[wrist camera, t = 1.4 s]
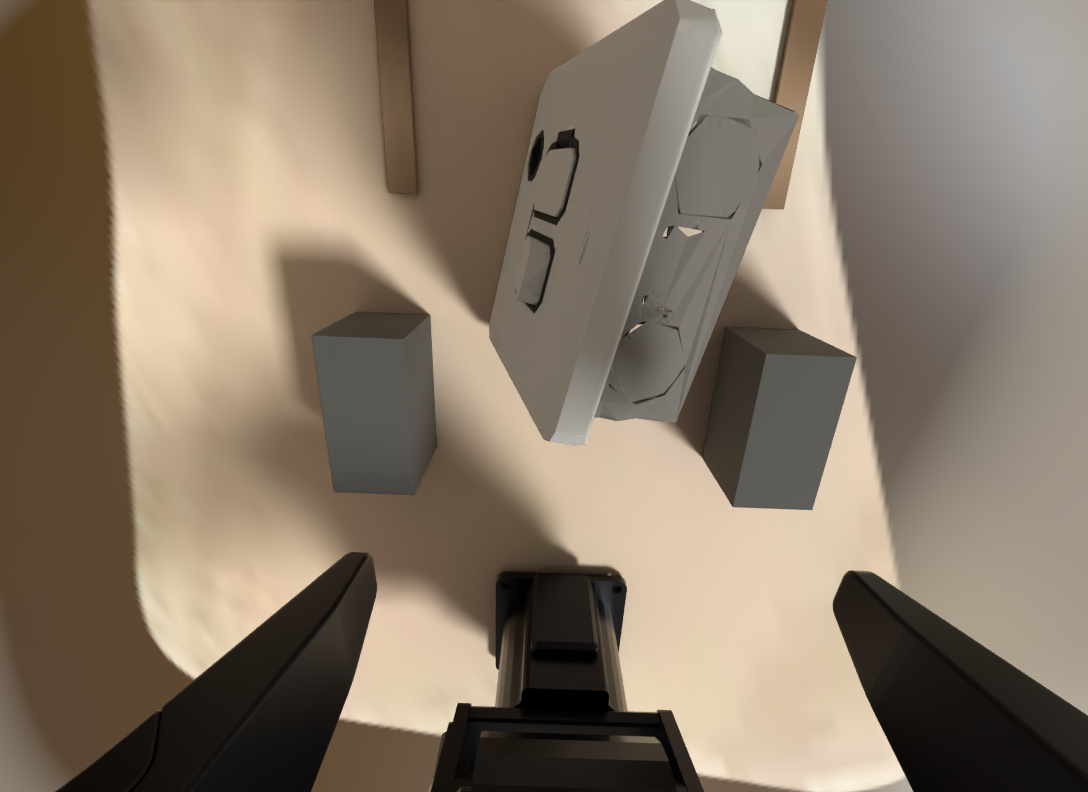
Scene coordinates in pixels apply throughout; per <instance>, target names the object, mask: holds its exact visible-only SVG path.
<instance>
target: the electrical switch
mask: <svg viewBox="0 0 1088 792" xmlns="http://www.w3.org/2000/svg"><path fill="white" fill-rule="evenodd" d="M721 35H722V30H721V27H720V24H719V21H718V18H717V14H716V11H715V9H710V8H707V7H705V6H702V5H700V4H697V3H695V2H692V1H690V0H664V1H662V2H660V3H659V4H657V5H656V6H654V7H653V8H651V9H649V10H648V11H646V12H645V13H643V14H641V15H640V16H638V17H637V18H635V19H633V20H632V21H630V22H629V23H627V24H626V25H624V26H622V27H621V28H619V29H618V30H616V31H614V32H613V33H611V34H610V35H608V36H606V37H605V38H603V39H602V40H600V41H599V42H597V43H595V44H594V45H592V46H591V47H589V48H587V49H586V50H584V51H583V52H581V53H579V54H578V55H576V56H575V57H573V58H571V59H570V60H568V61H567V62H565V63H564V64H562V65H560V66H559V67H557V68H556V69H554V70H552V71H551V72H550V73H549V75H548V77H547V79H546V82H545V84H544V86H543V88H542V91H541V95H540V99H539V103H538V108H537V112H536V117H535V121H534V126H533V130H532V135H531V139H530V144H529V148H528V152H527V157H526V161H525V166H524V170H523V175H522V179H521V184H520V188H519V193H518V197H517V202H516V206H515V211H514V215H513V220H512V224H511V229H510V233H509V238H508V242H507V247H506V251H505V256H504V260H503V265H502V269H501V274H500V278H499V283H498V287H497V292H496V296H495V301H494V305H493V310H492V314H491V320H490V325H489V338H490V340H491V342H492V344H493V346H494V348H495V350H496V351H497V353H498V355H499V357H500V359H501V361H502V363H503V365H504V366H505V368H506V370H507V372H508V374H509V376H510V378H511V380H512V381H513V383H514V385H515V387H516V389H517V391H518V393H519V395H520V396H521V398H522V400H523V402H524V404H525V406H526V408H527V410H528V411H529V413H530V415H531V417H532V419H533V421H534V423H535V424H536V426H537V428H538V430H539V432H540V434H541V436H542V438H543V439H544V440H547V441H549V442H555V443H562V444H568V445H585V443H586V440H587V437H588V434H589V431H590V428H591V425H592V422H593V419H594V417H601V418H605V419H610V420H615V421H621V420H627V419H634V418H639V419H647V420H655V421H663V422H671V423H676V421H677V419H678V416H679V414H680V411H681V409H682V406H683V404H684V401H685V399H686V397H687V394H688V392H689V389H690V387H691V384H692V382H693V379H694V377H695V374H696V372H697V369H698V367H699V364H700V362H701V359H702V357H703V354H704V352H705V349H706V347H707V344H708V342H709V339H710V337H711V334H712V332H713V329H714V327H715V324H716V322H717V319H718V317H719V314H720V312H721V309H722V307H723V304H724V302H725V299H726V297H727V294H728V292H729V289H730V287H731V284H732V282H733V279H734V277H735V274H736V272H737V269H738V267H739V264H740V262H741V259H742V257H743V254H744V252H745V249H746V247H747V244H748V242H749V239H750V237H751V235H752V232H753V230H754V227H755V225H756V222H757V220H758V217H759V215H760V212H761V210H762V207H763V205H764V202H765V200H766V197H767V195H768V192H769V190H770V187H771V185H772V182H773V180H774V177H775V175H776V172H777V170H778V167H779V165H780V162H781V160H782V157H783V155H784V152H785V150H786V147H787V145H788V142H789V140H790V137H791V135H792V132H793V130H794V127H795V125H796V122H797V120H798V117H799V115H798V114H796V113H794V112H796V111H793V110H791V109H789V108H786V107H784V106H781V105H779V104H776V103H774V102H772V101H769V100H767V99H764V98H762V97H759V96H757V95H755V94H753V93H752V92H751V91H750V90H749V89H748V88H747V87H746V86H745V85H744V84H742V83H741V82H740V81H739V80H738V79H736V78H734V77H731V76H729V75H726V74H724V73H721V72H719V71H717V70H715V69H713V68H712V67H711V65H712V62H713V59H714V56H715V53H716V50H717V47H718V44H719V41H720V38H721ZM759 159H760V161H761V163H762V166H761V168H760V170H759ZM678 226H680V227H686V228H691V229H696V230H701V231H702V233H699V234H696V235H693V236H690V237H687V236H686V235H685V234H684V233H683V232H682V231H681V230H679V229H678ZM667 227H668V230H667V237H663V236H662V235H663V233H664V231H665V230H666V228H667ZM665 238H666V239H665ZM643 297H644V304H643V306H642V303H643ZM662 306H664V307H665V308H667V309H669V310H671V311H672V312H667V311H660V310H658V309H660V308H661V307H662ZM637 324H643V325H641V326H640V327H638V328H637V329H635V330H634V331H632V332H631V333H629V332H630V330H631V329H632V328H634V327H635V326H636V325H637ZM668 325H670V326H675V327H676V329H674V328H672V327H670V326H668ZM684 366H685V368H684V369H683V367H684ZM682 369H683V370H682ZM681 370H682V371H681ZM654 396H657V398H651V397H654ZM647 398H649V399H647Z"/></svg>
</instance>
